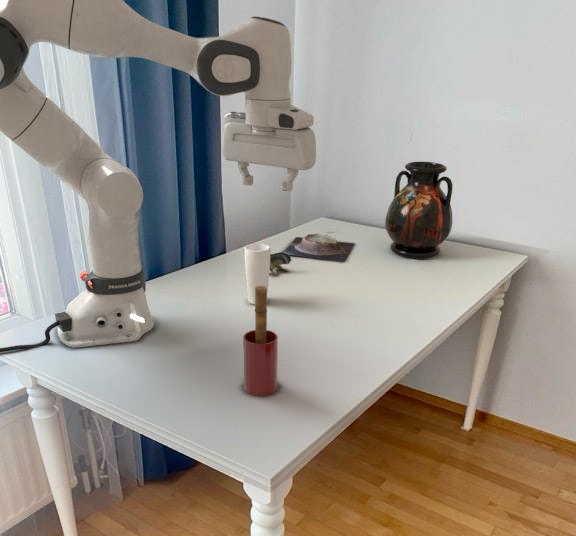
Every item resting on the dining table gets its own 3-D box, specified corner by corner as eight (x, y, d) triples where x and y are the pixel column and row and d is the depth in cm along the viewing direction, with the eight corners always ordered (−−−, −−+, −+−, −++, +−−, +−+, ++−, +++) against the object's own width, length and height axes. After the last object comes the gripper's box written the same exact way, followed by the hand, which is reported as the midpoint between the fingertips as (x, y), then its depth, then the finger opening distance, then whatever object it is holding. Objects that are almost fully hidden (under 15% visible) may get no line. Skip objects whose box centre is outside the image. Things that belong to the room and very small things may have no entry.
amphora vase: (370, 254, 199) (379, 165, 184) (399, 238, 214) (409, 156, 200) (431, 267, 188) (445, 175, 174) (457, 250, 204) (471, 164, 189)
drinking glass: (266, 307, 158) (267, 252, 151) (242, 305, 159) (241, 250, 152) (272, 298, 164) (273, 244, 156) (248, 295, 165) (247, 242, 158)
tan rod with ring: (258, 388, 121) (258, 291, 111) (253, 383, 123) (252, 286, 112) (268, 386, 122) (269, 289, 112) (263, 380, 124) (263, 284, 113)
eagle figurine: (270, 276, 175) (295, 266, 178) (260, 254, 174) (285, 243, 178) (261, 282, 182) (285, 272, 185) (251, 261, 181) (275, 251, 185)
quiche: (280, 255, 195) (281, 243, 193) (296, 238, 212) (296, 226, 210) (344, 262, 191) (344, 250, 189) (354, 243, 208) (355, 232, 206)
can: (252, 399, 119) (252, 347, 113) (238, 383, 124) (237, 333, 118) (282, 391, 122) (283, 340, 116) (267, 376, 127) (268, 327, 121)
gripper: (214, 112, 119) (217, 184, 126) (306, 120, 110) (303, 197, 117) (232, 109, 124) (233, 178, 131) (321, 117, 115) (317, 191, 122)
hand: (267, 187), depth 124 cm, fingers open, 8 cm apart
